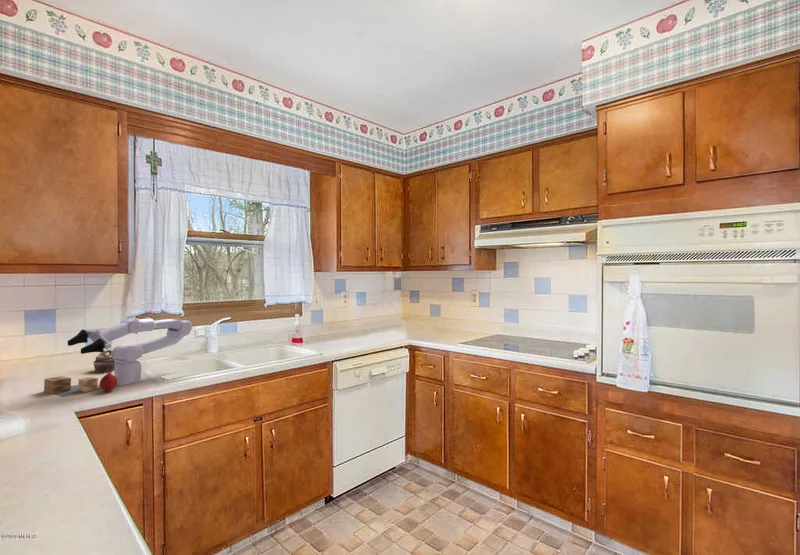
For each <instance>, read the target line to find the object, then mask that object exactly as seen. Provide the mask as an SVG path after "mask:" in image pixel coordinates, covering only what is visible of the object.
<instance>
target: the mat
mask: <svg viewBox="0 0 800 555" xmlns="http://www.w3.org/2000/svg"><path fill="white" fill-rule="evenodd" d="M99 390H102V389H101V387H97V390H92V391H87V392H83V391H79V390H78V384H75V385H74V384H73V385H71V391H66V392H61V393H56V394H53V396H58V397H62V398H65V397H71V396H74V395H75V396H76V395H80V394H85V393H89V392H94V391H99ZM42 392H43V393H45V392H44V390H43V391H42Z"/></svg>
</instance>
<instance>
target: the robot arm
mask: <svg viewBox="0 0 800 555" xmlns="http://www.w3.org/2000/svg"><path fill="white" fill-rule="evenodd" d="M156 328H159V329H160V328H166V329H167V330H166V333H165V334H166V335H163V336H161V337H157V338H154V339H151V340H147V341H144V342H143V341H142V342H141V343H137V344H130V345H129V344H128V345H116V346H115V347H114V348H113V349H112V350H111V351H112V358H113V359H114V362H115V371H113V372H114V374H113V375H114V376H115V377H116V378H117V385H116V386H124V385H128V384H133V383H138V382H139V383H140V382H143V380H142V365H141V364H142V363H141V362H140V361H139V360H138V359H140V358H142V357H143V355H146V354H148V353H151V352H155V351H158V350H161V349H164V348H167V347H170V346H171V347H172V346H173V345H176V344H178V343H179V342H180V341H181V340H183V339H184V338H185V337H186V336H189V335H190V334H191V331H192V330H193V324H192V322H191V321H190V320H181V319H171V318H168V319H167V318H166V319H159V320H157V319H156V320H154V319H153V318H150V317H147V316H145V317H144V318H134V319H123V320H122V321H120V323H117V324H115V325H112V326H108V327H106V328H103V329H100V330H99V329H95V330H89V329H81V330H80V331H79V333H77V334H76V335H75V336H73V337H72V338H70V339H68V340H67V346H68V347H71V346H75V345H77V344H84V343H85V344H87V345H85V346H83V347H81V348H80V354H81V355H83V354H84V355H85V354H90V353H101V352H103V351H104V349H105V350H110V349H111V348H112V343H111V342H112V341H115V340H117V339H120V338H123V337H125V336H127V335H130V334H135V335H136V334H138V333H142V332H143V333H145V332H153V330H154V329H156ZM88 339H89V340H91V341H92V343H90V344H88V343H89V342H88V341H89V340H88Z"/></svg>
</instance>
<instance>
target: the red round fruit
mask: <svg viewBox="0 0 800 555" xmlns="http://www.w3.org/2000/svg"><path fill="white" fill-rule="evenodd" d="M117 386H118V385H117V378H116V377H115V376H114V374H112V372H108V373H106V374H105V375H104V376H103V377H102V378H101V379H100V381H99V388H101V389H100V390H101V391H105V392H106V393H107V392H108V393H109V392H111V391H113V390H114V389H115V388H116V387H117Z"/></svg>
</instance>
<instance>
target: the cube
mask: <svg viewBox="0 0 800 555" xmlns="http://www.w3.org/2000/svg"><path fill="white" fill-rule="evenodd" d="M98 379H99V378H98V377H94V376H93V377H92V376H87V377H83V378H79V379H78V384H77V385H78V390H79V391H83V392H86V393H88V392H87V391H90V392H93V391H92V390H95V391H98V390H97V388H98V383H99V380H98Z"/></svg>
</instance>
